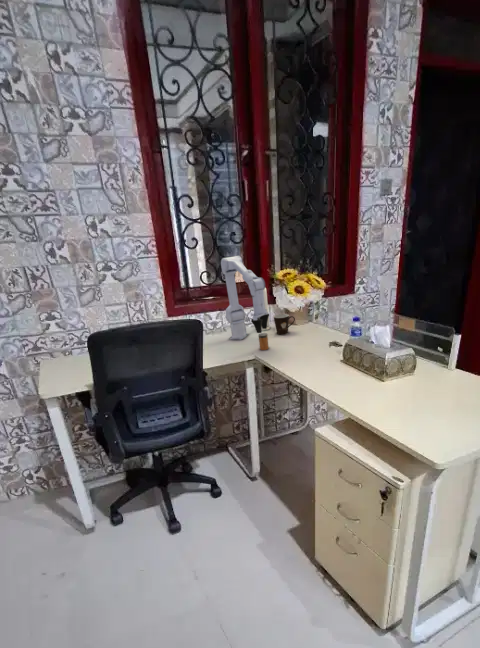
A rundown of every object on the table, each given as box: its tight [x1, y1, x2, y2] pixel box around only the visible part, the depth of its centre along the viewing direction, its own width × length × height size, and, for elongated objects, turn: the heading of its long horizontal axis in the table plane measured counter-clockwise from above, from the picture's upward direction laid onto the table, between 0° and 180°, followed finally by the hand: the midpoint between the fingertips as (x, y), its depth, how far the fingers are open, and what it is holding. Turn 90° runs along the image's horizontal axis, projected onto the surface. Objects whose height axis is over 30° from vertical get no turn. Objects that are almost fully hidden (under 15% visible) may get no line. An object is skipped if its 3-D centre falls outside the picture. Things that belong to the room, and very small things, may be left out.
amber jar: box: [257, 332, 270, 351], centre depth 215 cm, size 5×5×8 cm
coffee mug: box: [273, 313, 296, 336], centre depth 236 cm, size 12×9×10 cm
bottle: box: [262, 287, 271, 331], centre depth 243 cm, size 8×8×28 cm
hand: (261, 330), depth 212 cm, fingers open, 7 cm apart
